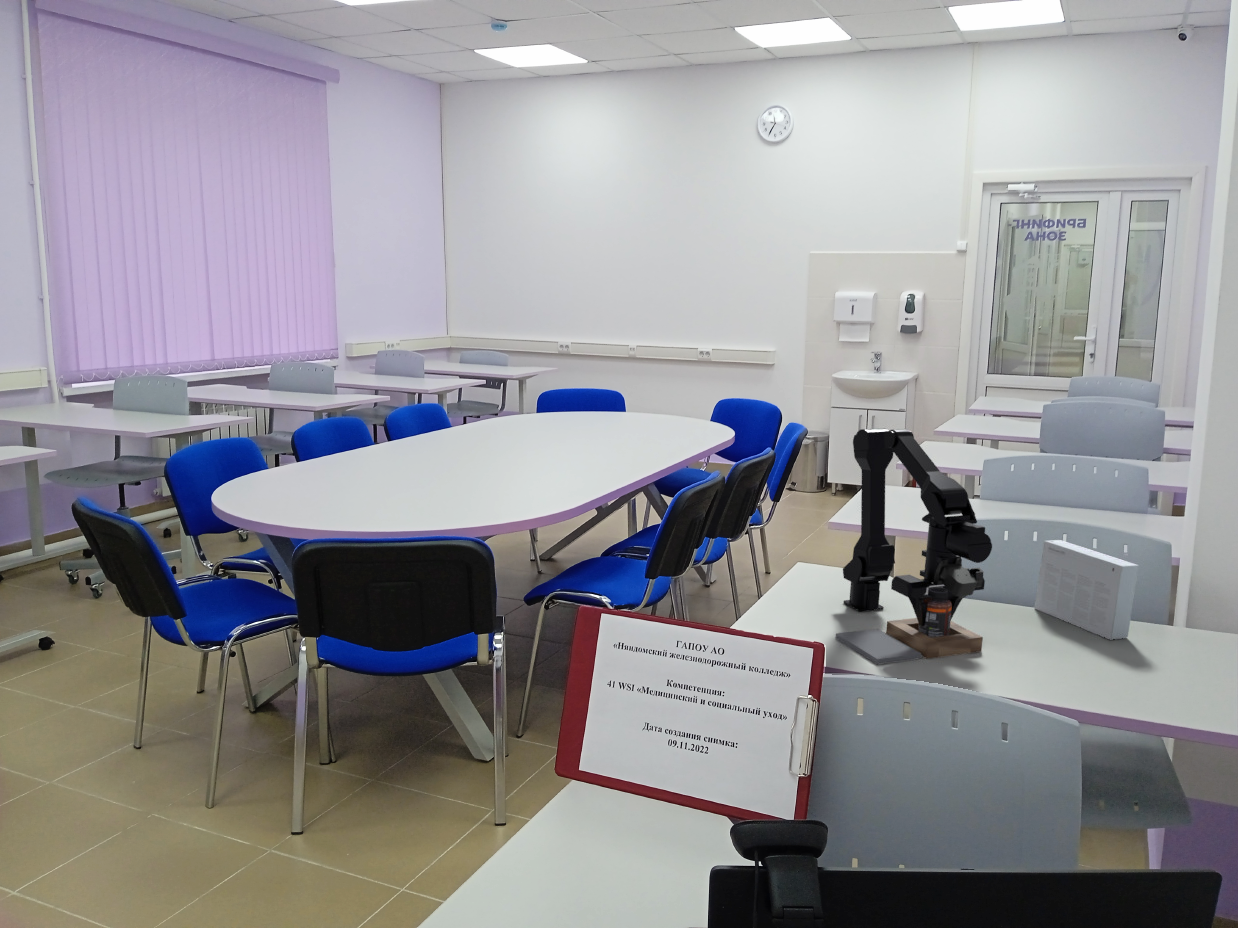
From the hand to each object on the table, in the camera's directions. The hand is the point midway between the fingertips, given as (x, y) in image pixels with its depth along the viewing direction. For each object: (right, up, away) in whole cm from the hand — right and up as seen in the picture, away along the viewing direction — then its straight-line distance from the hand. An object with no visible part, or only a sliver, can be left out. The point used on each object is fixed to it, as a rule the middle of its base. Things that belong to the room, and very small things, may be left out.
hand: (934, 623), depth 195 cm
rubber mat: (-12, -4, -3) cm, 13 cm away
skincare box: (+36, -3, +16) cm, 40 cm away
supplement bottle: (0, -4, +1) cm, 4 cm away
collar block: (0, -4, +1) cm, 4 cm away
